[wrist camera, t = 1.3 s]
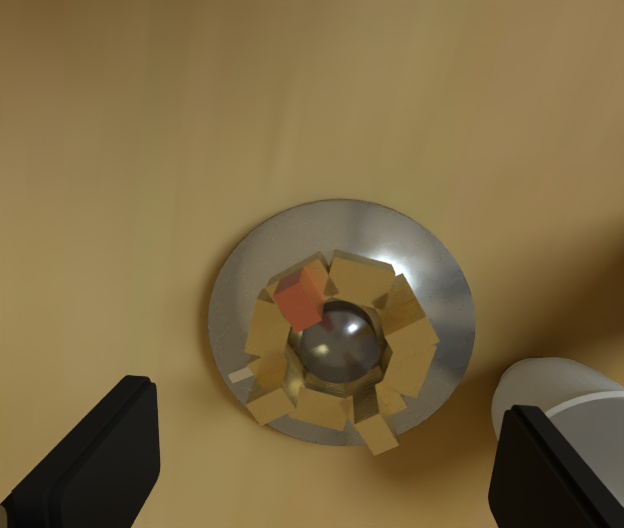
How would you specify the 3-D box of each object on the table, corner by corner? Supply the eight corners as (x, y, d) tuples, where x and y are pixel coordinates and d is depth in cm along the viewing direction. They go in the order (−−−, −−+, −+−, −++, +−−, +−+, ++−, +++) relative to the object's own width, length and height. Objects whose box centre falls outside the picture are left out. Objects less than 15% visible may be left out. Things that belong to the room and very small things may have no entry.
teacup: (601, 464, 37) (694, 576, 27) (442, 427, 37) (480, 526, 27) (662, 349, 33) (794, 430, 24) (487, 308, 33) (549, 373, 24)
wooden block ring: (374, 220, 30) (382, 236, 24) (454, 366, 33) (478, 411, 27) (222, 304, 33) (197, 337, 27) (308, 432, 36) (303, 486, 30)
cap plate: (394, 144, 30) (402, 144, 26) (511, 373, 35) (533, 400, 31) (163, 280, 34) (141, 296, 30) (295, 467, 39) (290, 502, 35)
